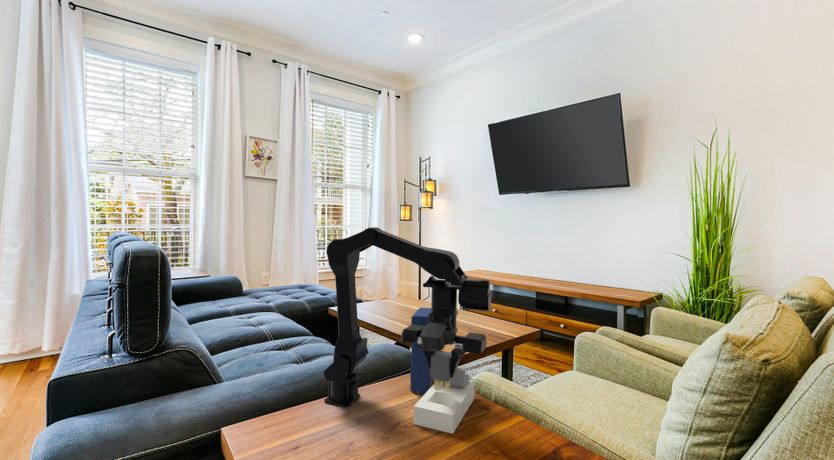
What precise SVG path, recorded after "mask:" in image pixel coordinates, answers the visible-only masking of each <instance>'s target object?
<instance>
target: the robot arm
mask: <svg viewBox="0 0 834 460" xmlns="http://www.w3.org/2000/svg"><path fill="white" fill-rule="evenodd" d="M371 247H376V248H378V249H381V250H384V251H386V252H388V253H391V254H393V255H395V256H398V257H400V258H403V259H405V260H408V261H410V262H412V263H415V264H416V265H418V266H419V267H420V268H421V269H423V270H424V271H425V272H426V273H428V274H429V275H430V276H429V277H428V279H427V280H426V281H425V282H424V283H423V284H422V287H423V288H431V307H430V308H431V313H429V321H428V323H427V325H426V326H421V325H414V324H412V325H411V324H410V325H408V326H407V327H405V328H404V329H402V331H401V338H400V340H401V342H402V343H407V344H411V345H412V344H413V343H414V342H415V341H416V340H417V344H416V347H417V348H420V349H421V350H422V351H423V352H424V354H425V356H426V359H427V361H428V364H429V367H430V370H431V356H432V355H433V354H434V353H435V352H436V351H443V350H445V346H448V345H450V346H452V345H454V348H452V349H451V351H450V352H451V354H452V361H451V371H450V373H451V378H453V377H454V374H455V372H456V369H458V366H459V364H460V361H461V359H462V356H463V355H466V354H467V353H469V354H473V355H474V354H475V355H481V354H482V353H483V352H484V351H485V349H486V348H487V345H488V343H487V341H488V338H487V337H486V335H485V334H484V333H483V334H482V333H477V332H468V333H467V334H466V335H465V336H463V335H457V333H458V327H457V316H458V315H459V310H458V308H457V307H458V304H459V305H460V307H462V309H463V310H467V311H469V310H470V311H479V312H490V311H491V305H492V292H491V286H490V285H491V281H490V279H469V278H468V276H467V274H466V273H465V272H464V271H463V269H462V267H461V266H460V259H459V257H458V255H457V254H456V253H454V252H453V251H450V250H444V249H440V248H435V247H433V248H432V247H428V246H422V245H420V244H417V243H415V242H413V241H411V240H408V239H405V238H402V237H400V236H398V235H396V234H392V233H390V232H388V231H385V230H383V229H381V228H380V227H378V226H377V227H376V226H373V227H367V228H365V229H364V230H362V231H360V232H358V233H356V234H353V235H350V236H347V237H345V238H337V239H333V240H332V241H330V242H329V244H328V245H327V246H326V256H327V261H328V265H329V268H330V269H331V271H332V273H333V275H334V277H335V292H336V310H337V311H336V312H337V325H338V328H337V329H338V337H337V340H336V343H335V346H334V350H333V360H332V361H333V362H332V363H331V364H330V365H329V366H328V367H327V368H326V369H324V371H323V376H324V379H325V380H326V381H328V382H327V383H328V386H327V387H328V390H327V391H328V393H327V394H328V396H327V397H325V398H324V402H325V403H328V404H332V405H336V406H339V407H344V408H346V407H349V406H350V405H351V404H352V403H353V402H355V401H356V400H358V399H359V398H360V397H361V394H360V393H359V381H358V379H357V378H358V377H357V376H358V374H357V373H355V372H356V371H358V370H359V369H360V367H361V365H362V364H363V363H364V362H365V361H366V359H367V355H368V354H369V350H368V338H367V337H362V336H361V334H360V332H359V321H358V302H357V290H356V273H357V268H358V266H359V262H360V254H361V252H364V251H366V250H367V249H369V248H371ZM457 303H458V304H457Z"/></svg>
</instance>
